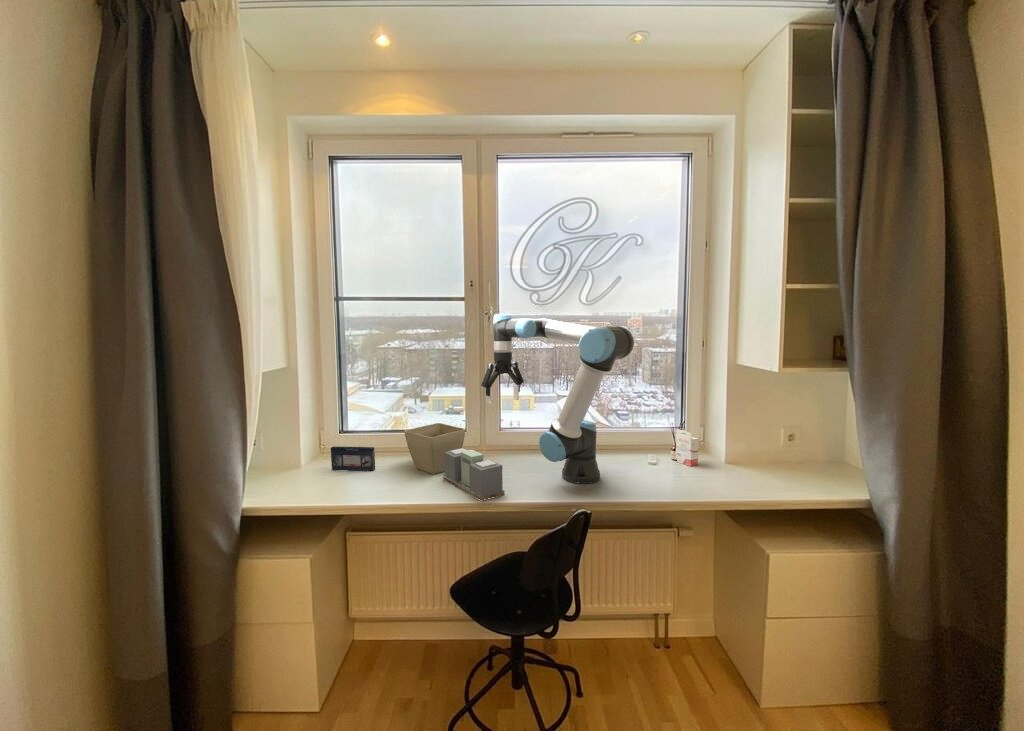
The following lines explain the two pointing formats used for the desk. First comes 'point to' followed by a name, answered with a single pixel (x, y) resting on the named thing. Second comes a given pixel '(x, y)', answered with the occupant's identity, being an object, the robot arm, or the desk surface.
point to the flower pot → (433, 445)
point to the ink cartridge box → (686, 448)
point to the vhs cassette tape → (353, 458)
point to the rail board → (467, 489)
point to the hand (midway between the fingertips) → (503, 401)
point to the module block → (467, 459)
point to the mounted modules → (475, 473)
